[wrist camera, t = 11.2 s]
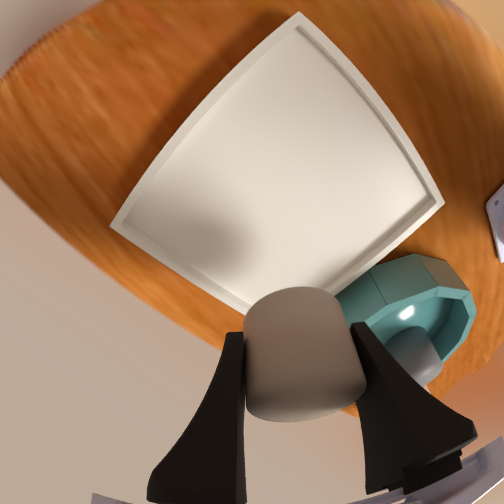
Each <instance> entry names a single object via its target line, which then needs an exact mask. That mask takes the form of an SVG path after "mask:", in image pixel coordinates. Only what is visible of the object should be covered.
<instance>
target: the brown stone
mask: <svg viewBox="0 0 504 504" xmlns="http://www.w3.org/2000/svg"><path fill="white" fill-rule="evenodd" d="M243 331H244V358H245V394H246V408H247V410H248V411H249V412H250V413H251V414H252V415H254V416H255V417H258V418H260V419H263V420H267V421H273V422H301V421H308V420H313V419H317V418H321V417H324V416H328V415H330V414H333V413H335V412H338V411H340V410H342V409H344V408H346V407H348V406H349V405H351V404H352V403H354V402H355V401H356V400H357V399H359V398H360V396H361V395H362V394H363V393H364V391H365V389H366V386H367V382H366V378H365V375H364V372H363V369H362V366H361V363H360V360H359V357H358V354H357V351H356V348H355V345H354V342H353V339H352V336H351V333H350V330H349V328H348V325H347V322H346V319H345V316H344V314H343V311H342V308H341V306H340V303H339V302H338V300H337V299H336V298H335V297H334V296H333V295H332V294H330V293H329V292H327V291H324V290H322V289H319V288H314V287H305V286H302V287H290V288H285V289H281V290H278V291H275V292H273V293H270V294H268V295H266V296H264V297H263V298H261V299H260V300H258V301H257V302H256V303H255V304H254V305H253V306H252V307H251V308H250V309H249V310H248V312H247V314H246V316H245V318H244V323H243Z"/></svg>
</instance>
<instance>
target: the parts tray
mask: <svg viewBox="0 0 504 504" xmlns="http://www.w3.org/2000/svg"><path fill="white" fill-rule="evenodd" d="M444 204H445V202H444V200H443V198H442V196H441V194H440V192H439V190H438V188H437V186H436V184H435V182H434V180H433V178H432V176H431V175H430V173H429V171H428V169H427V167H426V166H425V164H424V162H423V160H422V159H421V157H420V155H419V154H418V152H417V150H416V149H415V147H414V145H413V144H412V142H411V141H410V139H409V137H408V136H407V134H406V133H405V131H404V130H403V128H402V127H401V125H400V124H399V122H398V121H397V119H396V118H395V117H394V115H393V114H392V112H391V111H390V110H389V108H388V107H387V106H386V104H385V103H384V101H383V100H382V99H381V98H380V96H379V95H378V94H377V92H376V91H375V90H374V89H373V87H372V86H371V85H370V84H369V82H368V81H367V80H366V79H365V77H364V76H363V75H362V74H361V73H360V72H359V70H358V69H357V68H356V67H355V66H354V65H353V64H352V62H351V61H350V60H349V59H348V58H347V57H346V56H345V55H344V54H343V53H342V52H341V50H340V49H339V48H338V47H337V46H336V45H335V44H334V43H333V42H332V41H331V40H330V39H329V38H328V37H327V36H326V35H325V34H324V33H323V32H322V31H321V30H320V29H319V28H317V27H316V26H315V25H314V24H313V23H312V22H311V21H310V20H309V19H308V18H307V17H305V16H304V15H303V14H302V13H301V12H300V11H298V12H297V13H296V14H294V15H293V16H292V17H291V18H289V19H288V20H287V21H286V22H284V23H283V24H282V25H281V26H279V27H278V28H277V29H276V30H275V31H274V32H272V33H271V34H270V35H269V36H268V37H267V38H265V39H264V40H263V41H262V42H261V43H260V44H259V45H258V46H256V47H255V48H254V49H253V50H252V51H251V52H250V53H249V54H248V55H247V56H246V57H245V58H244V59H242V60H241V61H240V62H239V63H238V64H237V65H236V66H235V67H234V68H233V69H232V70H231V71H230V72H229V73H228V74H227V75H226V76H225V77H224V78H223V79H222V80H221V81H220V82H219V84H218V85H217V86H216V87H215V88H214V89H213V90H212V91H211V92H210V93H209V94H208V95H207V96H206V97H205V99H204V100H203V101H202V102H201V103H200V104H199V105H198V106H197V108H196V109H195V110H194V111H193V112H192V113H191V114H190V116H189V117H188V118H187V119H186V120H185V121H184V123H183V124H182V125H181V126H180V127H179V129H178V130H177V131H176V132H175V134H174V135H173V136H172V137H171V139H170V140H169V141H168V142H167V144H166V145H165V146H164V147H163V149H162V150H161V151H160V153H159V154H158V155H157V157H156V158H155V159H154V161H153V162H152V163H151V165H150V166H149V167H148V169H147V170H146V172H145V173H144V174H143V176H142V177H141V179H140V180H139V182H138V183H137V184H136V186H135V187H134V189H133V190H132V192H131V193H130V195H129V196H128V198H127V199H126V201H125V202H124V204H123V205H122V207H121V208H120V210H119V212H118V213H117V215H116V216H115V218H114V220H113V221H112V223H111V224H110V226H109V227H111V228H112V229H114V230H115V231H116V232H118V233H119V234H121V235H122V236H123V237H125V238H126V239H128V240H129V241H130V242H132V243H133V244H135V245H136V246H138V247H139V248H141V249H142V250H143V251H145V252H146V253H148V254H149V255H151V256H152V257H154V258H155V259H157V260H158V261H160V262H161V263H163V264H164V265H166V266H167V267H169V268H170V269H172V270H173V271H175V272H176V273H178V274H179V275H181V276H182V277H184V278H186V279H187V280H189V281H190V282H192V283H193V284H195V285H196V286H198V287H200V288H201V289H203V290H204V291H206V292H208V293H209V294H211V295H212V296H214V297H216V298H217V299H219V300H220V301H222V302H224V303H225V304H227V305H229V306H230V307H232V308H234V309H235V310H237V311H239V312H240V313H242V314H244V315H245V316H246V314H247V312H248V310H249V309H250V308H251V307H252V306H253V305H254V304H255V303H256V302H257V301H258V300H260V299H261V298H263V297H264V296H266V295H268V294H270V293H273V292H275V291H278V290H281V289H285V288H290V287H302V286H305V287H314V288H319V289H322V290H324V291H327V292H329V293H330V294H332V295H333V296H335V295H336V294H337V293H339V292H340V291H341V290H343V289H344V288H345V287H347V286H348V285H349V284H351V283H352V282H353V281H355V280H356V279H357V278H358V277H360V276H361V275H362V274H364V273H365V272H366V271H367V270H369V269H370V268H371V267H372V266H374V265H375V264H376V263H377V262H379V261H380V260H381V259H382V258H383V257H385V256H386V255H387V254H388V253H389V252H391V251H392V250H393V249H394V248H395V247H397V246H398V245H399V244H400V243H401V242H402V241H404V240H405V239H406V238H407V237H408V236H409V235H411V234H412V233H413V232H414V231H415V230H416V229H417V228H419V227H420V226H421V225H422V224H423V223H424V222H425V221H426V220H427V219H429V218H430V217H431V216H432V215H433V214H434V213H435V212H436V211H437V210H438V209H439V208H440V207H441V206H442V205H444Z"/></svg>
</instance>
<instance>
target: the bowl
mask: <svg viewBox="0 0 504 504" xmlns="http://www.w3.org/2000/svg"><path fill="white" fill-rule="evenodd" d="M334 297H335V298H336V299H337V300H338V302H339V303H340V306H341V308H342V311H343V314H344V316H345V319H346V322H347V325H348V328H349V330H350V327H351V324H352V323H355V322H363V321H364V322H365V323H366V324H367V325H368V326H369V328H370V329H371V330H372V331H373V333H374V334H375V335H376V336H377V338H378V339H379V340H380V341H381V343H382V344H383V345H384V344H385V343H386V342H387V341H388V340H389V339H390V338H391V337H393V336H394V335H395V334H397V333H399V332H400V331H402V330H404V329H407V328H410V327H414V326H421V327H423V328H424V329H425V330H426V332H427V334H428V336H429V338H430V340H431V342H432V344H433V346H434V348H435V350H436V352H437V354H438V356H439V358H440V360H441V362H442V364H443V363H444V362H445V361H446V360H447V359H448V358H449V357H450V356H451V355H452V354H453V353H454V352H455V351H456V349H457V348H458V347H459V346H460V345H461V344H462V343H463V342H464V340H465V339H466V337H467V335H468V333H469V330H470V328H471V326H472V323H473V321H474V318H475V316H476V313H477V311H476V307H475V304H474V301H473V298H472V295H471V292H470V290H469V289H468V288H467V286H466V285H465V284H464V282H463V281H462V280H461V279H460V277H459V276H458V275H457V273H456V272H455V271H454V270H453V268H452V267H451V266H450V265H449V264H448V262H447V261H444V260H440V259H436V258H432V257H428V256H424V255H420V254H416V253H414V254H411V255H407V256H404V257H401V258H398V259H395V260H392V261H389V262H385V263H382V264H379V265H376V266H372V267H371V268H370V269H369V270H367V271H366V272H365V273H364V274H362V275H361V276H360V277H358V278H357V279H356V280H355V281H353V282H352V283H351V284H349V285H348V286H347V287H345V288H344V289H343V290H341V291H340V292H339V293H337V294H336V295H335V296H334Z"/></svg>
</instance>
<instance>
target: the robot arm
mask: <svg viewBox="0 0 504 504" xmlns="http://www.w3.org/2000/svg"><path fill="white" fill-rule="evenodd" d="M486 210H487V213H488V217H489V220H490V224H491V228H492V232H493V236H494V240H495V244H496V249H497V254H498V259H499V261H500V262H501V263H503V262H504V184H503V185H502V186H501V187H500V188H499V190H498V191H497V192H496V193H495V194H494V195H493V196H492V197H491V198H490V199H489V200H488V202H487V204H486ZM350 333H351V336H352V339H353V342H354V345H355V348H356V351H357V354H358V357H359V360H360V363H361V366H362V369H363V372H364V375H365V378H366V382H367V386H366V389H365V391H364V393H363V394H362V395H361V396H360V398H359V399H357V400H356V401H355V402H356V405H357V408H358V412H359V417H360V422H361V428H362V435H363V444H364V454H365V476H366V481H365V482H366V484H365V488H366V494H367V495H369V494H372V493H375V492H379V491H382V490H385V489H388V490H389V492H387V493H384V494H381V495H378V496H374V497H371V498H368V499H364V500H360V501H357V502H353V503H348V504H391V503H393V502H396V501H399V500H402V499H404V498H406V500H405V502H404V503H401V504H473V503H474V502H476V501H477V500H478V499H479V498H481V497H482V496H483V495H484V494H486V493H487V492H488V491H489V490H490V489H492V488H493V487H494V486H496V485H497V484H498V483H499V482H500V481H502V480H503V479H504V441H503V438H502V436H500V437H499V438H497V439H496V440H494V441H492V442H491V443H490V444H488V445H486V446H485V447H483V448H481V449H480V450H478V451H477V452H475V453H473V454H472V455H470V456H468V457H466V458H465V459H463V460H460V457H459V456H461V455H462V451H461V449H462V448H463V447H465V446H466V445H468V444H470V443H471V442H472V441H474V440H475V439H476V438H477V437H478V435H477V432H476V429H475V427H474V424H473V421H472V420H470V419H468V418H466V417H464V416H462V415H460V414H458V413H457V412H455V411H453V410H452V409H450V408H449V407H447V406H446V405H444V404H443V403H442V402H440V401H439V400H438V399H436V398H435V397H434V396H432V395H431V394H430V393H429V392H428V391H426V390H425V389H424V388H423V387H422V386H421V385H420V384H419V383H417V382H416V381H415V380H414V379H413V378H412V377H411V376H410V375H409V374H408V373H407V372H406V371H405V369H404V368H403V367H402V366H401V365H400V364H399V363H398V362H397V361H396V360H395V358H394V357H393V356H392V355H391V354H390V352H389V351H388V350H387V349H386V348H385V346H384V345H383V344H382V343H381V341H380V340H379V339H378V338H377V336H376V335H375V334H374V333H373V331H372V330H371V329H370V328H369V326H368V325H367V324H366V323H365V322H364V321H363V322H355V323H352V324H351V327H350ZM245 395H246V394H245V358H244V335H243V332H228V333H227V334H226V338H225V343H224V347H223V351H222V354H221V357H220V360H219V363H218V366H217V368H216V371H215V374H214V377H213V379H212V381H211V383H210V386H209V388H208V390H207V392H206V394H205V396H204V399H203V401H202V402H201V404H200V406H199V408H198V410H197V412H196V413H195V415H194V417H193V418H192V420H191V422H190V423H189V425H188V426H187V428H186V429H185V431H184V432H183V434H182V436H181V437H180V438H179V439H178V441H177V442H176V444H175V445H174V446H173V447H172V449H171V450H170V451H169V452H168V454H167V455H166V456H165V457H164V458H163V459H162V461H161V462H160V463H159V464H158V465H157V466H156V468H154V470H153V471H152V473H151V476H150V479H149V482H148V487H147V500H148V501H149V502H153V503H157V504H246V503H247V495H246V477H245V459H244V458H245V457H244V433H243V429H244V428H243V427H244V410H245ZM91 504H131V503H127V502H123V501H119V500H115V499H112V498H108V497H105V496H102V495H98V494H95V493H93V494H92V501H91Z"/></svg>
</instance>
